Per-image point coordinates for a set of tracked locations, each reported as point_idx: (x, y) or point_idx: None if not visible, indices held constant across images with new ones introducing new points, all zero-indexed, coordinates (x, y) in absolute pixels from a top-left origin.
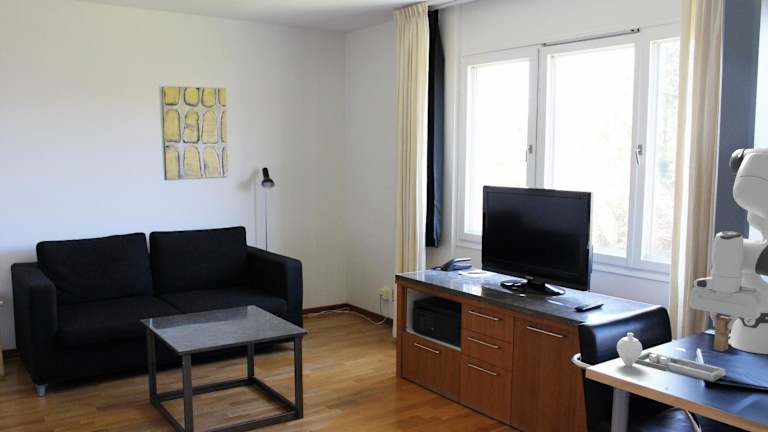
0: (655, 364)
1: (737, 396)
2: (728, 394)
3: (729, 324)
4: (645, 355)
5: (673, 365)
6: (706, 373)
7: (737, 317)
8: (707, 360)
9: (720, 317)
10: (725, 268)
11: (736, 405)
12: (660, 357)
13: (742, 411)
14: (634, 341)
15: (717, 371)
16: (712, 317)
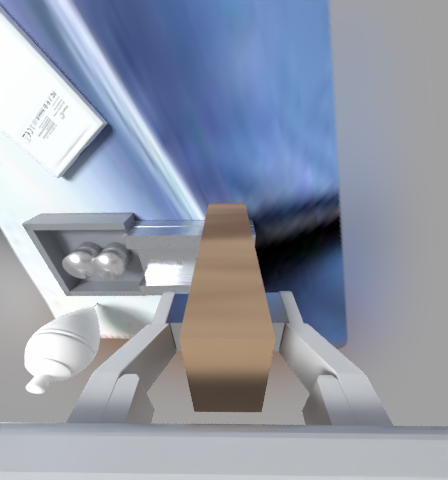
0: (122, 295)
1: (301, 290)
2: None
3: (284, 349)
4: (48, 252)
5: (157, 293)
6: None
7: (374, 391)
8: (112, 35)
9: (208, 388)
10: None
11: (308, 321)
12: (98, 272)
13: (320, 333)
14: (69, 375)
15: None
16: (149, 383)
